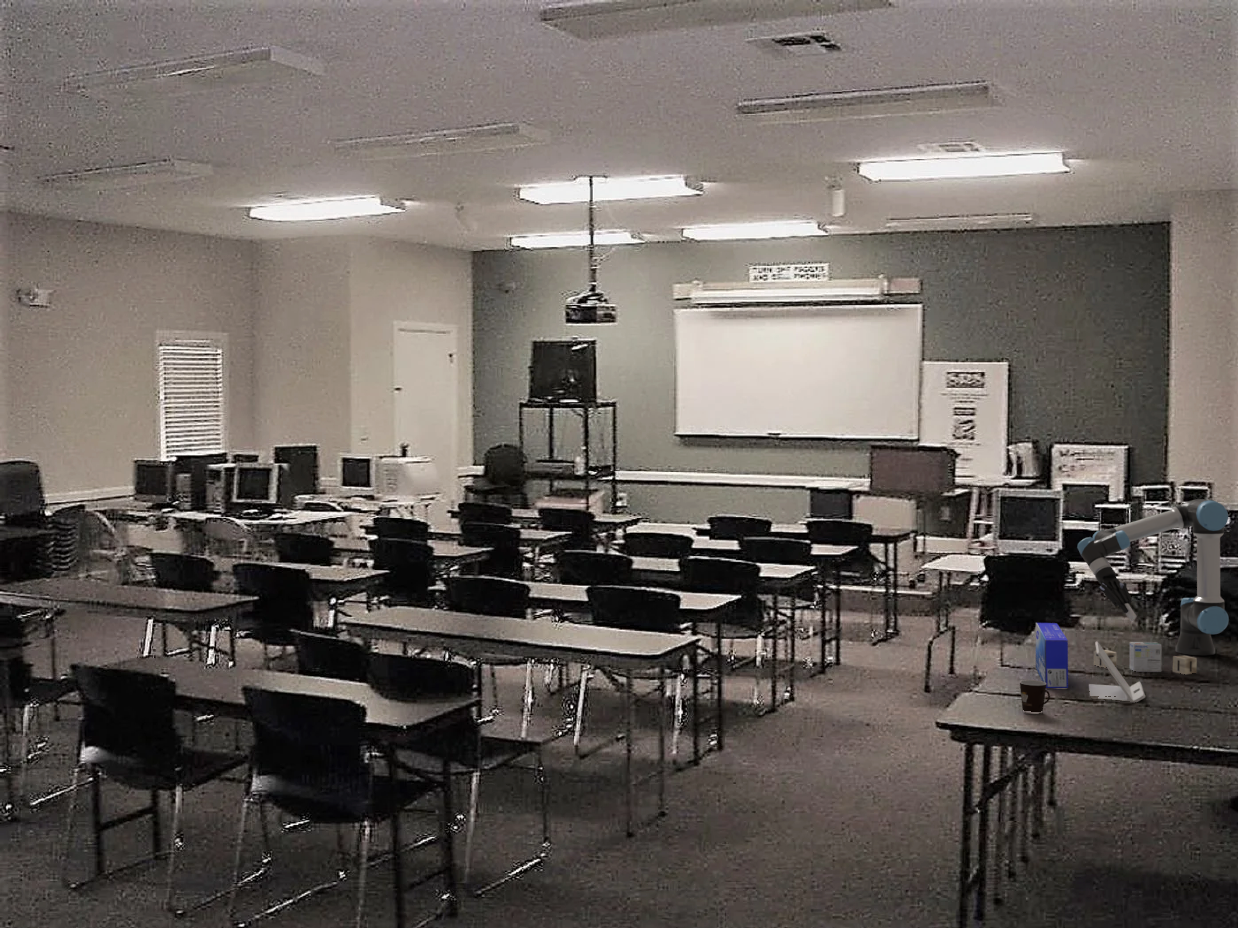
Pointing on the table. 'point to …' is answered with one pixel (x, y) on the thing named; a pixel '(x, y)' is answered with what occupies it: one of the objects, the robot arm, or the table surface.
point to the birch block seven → (1110, 654)
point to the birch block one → (1184, 664)
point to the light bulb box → (1145, 656)
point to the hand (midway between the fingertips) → (1133, 618)
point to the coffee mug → (1033, 695)
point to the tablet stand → (1121, 691)
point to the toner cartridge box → (1052, 655)
